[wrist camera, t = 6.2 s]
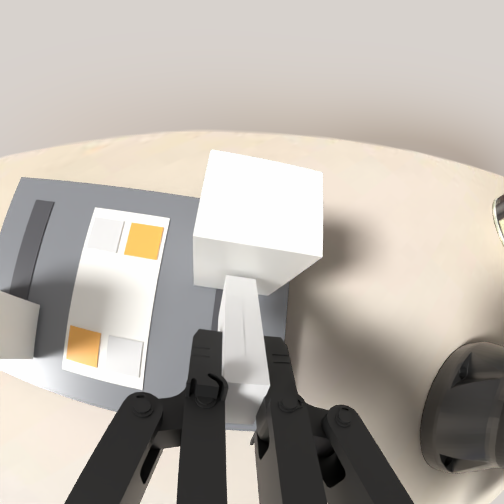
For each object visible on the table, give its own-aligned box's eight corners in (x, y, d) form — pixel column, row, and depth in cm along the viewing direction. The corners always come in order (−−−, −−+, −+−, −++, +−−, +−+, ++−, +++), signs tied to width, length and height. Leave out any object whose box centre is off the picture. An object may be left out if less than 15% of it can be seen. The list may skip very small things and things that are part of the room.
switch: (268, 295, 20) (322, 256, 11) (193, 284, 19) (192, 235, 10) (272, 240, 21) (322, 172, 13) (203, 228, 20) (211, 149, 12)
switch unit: (267, 424, 19) (275, 432, 17) (-10, 358, 15) (-24, 357, 13) (285, 224, 24) (293, 213, 22) (30, 187, 21) (20, 176, 19)
